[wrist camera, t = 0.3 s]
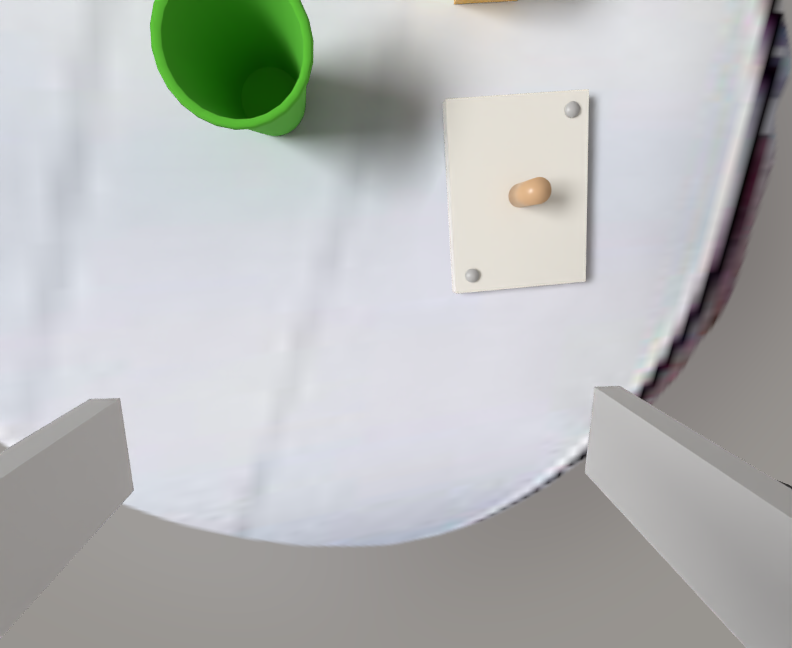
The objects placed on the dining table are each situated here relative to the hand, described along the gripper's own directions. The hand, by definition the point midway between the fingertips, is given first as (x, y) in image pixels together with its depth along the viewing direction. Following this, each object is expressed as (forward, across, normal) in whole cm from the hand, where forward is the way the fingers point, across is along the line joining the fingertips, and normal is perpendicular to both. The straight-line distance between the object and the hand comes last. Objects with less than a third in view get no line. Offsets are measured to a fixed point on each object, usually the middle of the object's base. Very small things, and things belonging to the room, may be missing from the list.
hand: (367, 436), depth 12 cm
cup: (+27, -7, +16) cm, 33 cm away
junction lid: (+27, +13, +9) cm, 31 cm away
